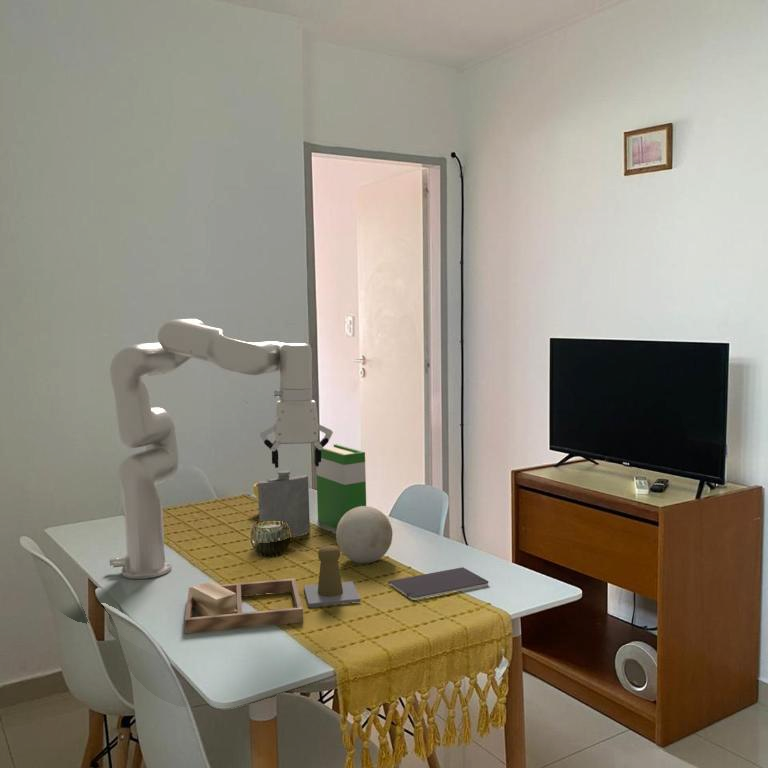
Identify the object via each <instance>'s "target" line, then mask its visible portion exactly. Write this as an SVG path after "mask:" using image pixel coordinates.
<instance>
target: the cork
mask: <svg viewBox="0 0 768 768" xmlns="http://www.w3.org/2000/svg"><path fill="white" fill-rule="evenodd" d="M317 556H318V559H319V562H320V564H319V566H320V567H319V575H318V594H319V595H321V596H326V597H332V596H337V595H340V594H342V593H343V588H342V582H343V581H342V578H341V577H342V576H341V570H340V566H339V560H340V558H341V550H340V548H339V546H336V545H323V546H322V547H320V548H319V549H318V553H317Z"/></svg>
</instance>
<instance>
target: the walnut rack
mask: <svg viewBox="0 0 768 768" xmlns="http://www.w3.org/2000/svg"><path fill="white" fill-rule="evenodd" d="M219 585H220V586H222V587H224V588H226V589H228V590H230V591H232V592H234V593H236V598H237V607H236V610H237V613H235V614H224V615H213V616H203V617H202V616H193V613H194V612H193V611H194V606H193V599H192V587H193V586H192V587H188V591H187V592H188V593H187V594H188V595H187V601H186V609H185V615H184V616H185V618H184V626H185V627H184V629H185V630H184V631H185V634H193V633H195V634H196V633H205V632H216V631H226V630H235V629H236V630H238V629H246V628H256V627H267V626H268V627H269V626H278V625H288V623H289V624H298V623H304V607H303V604H302V600H301V597H300V592H299V589H298V588H299V587H298V585H297V580H296V578H284V579H274V580H271V579H270V580H263V581H262V580H261V581H252V582H241V583H228V584H219ZM282 592H289V593H291V594H292V595H293V596H292V600H293V599H294V600H293V603H294V607H290V608H282V609H281V608H280V609H278V608H277V609H270V610H269V609H268V610H259V611H258V610H257V611H247V612H243V604H242V602H243V601H242V597H241V596H244V595H256V594H266V593H278V594H283V593H282ZM256 596H257V595H256ZM244 597H245V596H244Z"/></svg>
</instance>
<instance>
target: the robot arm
mask: <svg viewBox="0 0 768 768" xmlns="http://www.w3.org/2000/svg"><path fill="white" fill-rule="evenodd" d="M312 351H313V350H312V347H311V345H309V344H308V343H304V342H303V343H300V342H292V343H291V342H290V343H289V342H288V343H286V342H280V341H275V340H274V341H272V340H270V341H269V340H268V341H260V342H259V341H258V342H246V341H243V340H238V339H235V338H230V337H228V336H227V335H226V332H225V331H224V330H223V329H221V328H218V327H213V326H209V325H206V324H205V323H204V322H203V321H201V320H199V319H197V318H179V319H171V320H168V321H166V322H164V323H163V324H162V325H161V326H160V328H159V330H158V332H157V342H156V341H155V342H143V343H135V344H131V345H128V346H125V347H123V348H121V349H120V350H119V351H117V353H115V355H114V356H113V358H112V360H111V362H110V366H109V376H110V382H111V386H112V390H113V394H114V395H113V396H114V400H115V403H114V405H115V410H116V411H115V413H116V419H117V429H118V433H119V438H120V441H121V443H122V444H123V445H124V446H125V447H127V448H130V449H135V448H136V449H137V448H141V447H145V450H142V451H139V452H135V453H132V454H130V455H128V456H127V457H125V458H124V459H122V462H121V463H120V465H119V467H118V469H117V470H118V471H117V475H118V482H119V485H120V489H121V493H122V501H123V511H124V512H123V513H124V514H123V515H124V523H125V524H124V528H125V529H124V530H125V541H126V542H125V544H126V555H124V556H123V555H122V557H112V558H109V566H110V567H113V568H120V567H121V576H122V577H124V578H128V579H132V580H133V579H134V580H139V579H141V580H143V579H144V580H145V579H152V578H157V577H161V576H163V575H165V574H168V573H169V572H170V571H172V568H173V567H172V563H171V562H169V561H168V560H166V555H165V553H166V551H165V538H164V537H165V536H164V533H165V531H164V515H163V503H162V498H161V496H160V493H159V491H158V490H157V485H160V484H162V483H165V482H168V481H170V480H172V479H173V478H174V477H175V476H176V474H178V473H177V472H178V469H179V463H180V462H179V460H180V459H179V452H178V451H179V450H178V444H177V437H176V436H177V435H176V428H175V427H176V426H175V424H174V423H175V422H174V420H173V418H172V416H171V414H170V413H169V412H168V411H167V410H165V409H164V408H162V407H159V406H151V402H150V399H151V398H150V393H149V390H148V387H147V386H146V384H145V382H144V381H143V380H142V379H143V378H145V377H150V376H159V375H160V376H161V375H165V374H168V373H171V372H173V371H175V370H176V369H178V368H180V367H182V365H184V364H185V363H187V362H188V361H189V360H191V359H197V360H201V361H204V362H208V363H211V364H213V365H215V366H216V367H219V368H221V369H224V370H226V371H230V372H235V373H240V374H243V375H244V374H245V375H249V376H259V375H264V374H265V375H266V374H270V373H272V374H273V373H277V372H279V389H278V390H273V397H277V398H278V399H280V400H277V402H276V403H277V404H276V408H275V419H274V420H275V421H274V424H272V425H271V426H269V427H267V428H265V429H263V430H262V431H260V432H259V436H260V438H261V440H262V442H263V443H264V445H265V446H266V447H267V448H268V449H269V450H270V451H271V464H272V465H274V469H278V468H279V450H278V448H280V446H281V445H296V444H297V445H298V444H303V445H304V444H313V445H314V446H315V447H314V466H315V467H316V466H319V462H321V450H322V449H323V448H325V446H326V445H327V444H328V443H329V442H330V441H329V440H330V439H331V437H332V436H333V430H332V429H330V428H327V427H326V426H324V425H321V424H320V423H319V418H318V410H317V404H316V403H317V402H316V401H315V400H314V399H313V364H312V363H313V362H312V361H313V358H312V357H313V352H312ZM319 432H322V433H324V434H325V435H324V437H323V438H322V439H321V440H320V441H319ZM272 433H274V436H275V437H274V438H275V440H274V441H273V442H271V440H270V439H269V438H268V435H271V434H272Z"/></svg>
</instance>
